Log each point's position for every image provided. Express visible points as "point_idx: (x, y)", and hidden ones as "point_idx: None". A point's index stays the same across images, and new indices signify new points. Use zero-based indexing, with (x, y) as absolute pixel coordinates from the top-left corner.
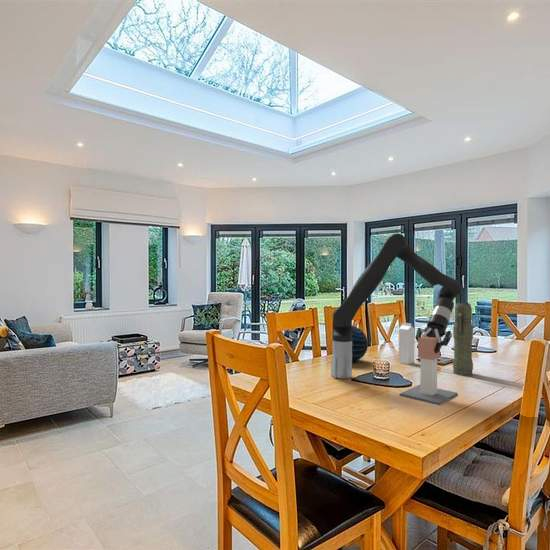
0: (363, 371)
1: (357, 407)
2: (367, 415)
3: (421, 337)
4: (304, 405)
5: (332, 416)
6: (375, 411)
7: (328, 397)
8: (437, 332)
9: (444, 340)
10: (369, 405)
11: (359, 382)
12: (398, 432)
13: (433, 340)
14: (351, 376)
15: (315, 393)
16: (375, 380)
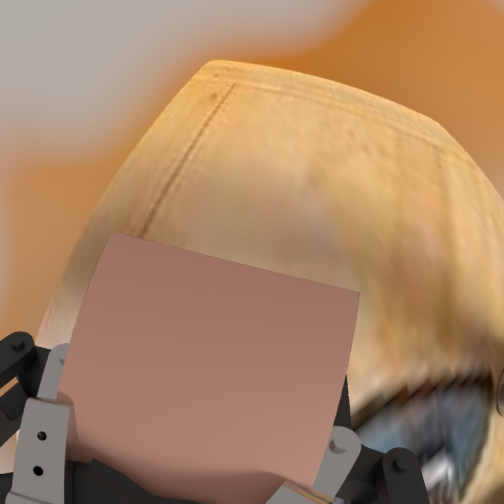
0: (480, 485)
1: (374, 155)
2: (332, 124)
3: (321, 367)
4: (440, 136)
5: (376, 106)
6: (331, 147)
7: (451, 191)
8: (25, 489)
9: (10, 340)
10: (362, 176)
11: (471, 369)
12: (252, 89)
13: (114, 239)
14: (498, 398)
15: (480, 205)
16: (443, 430)
